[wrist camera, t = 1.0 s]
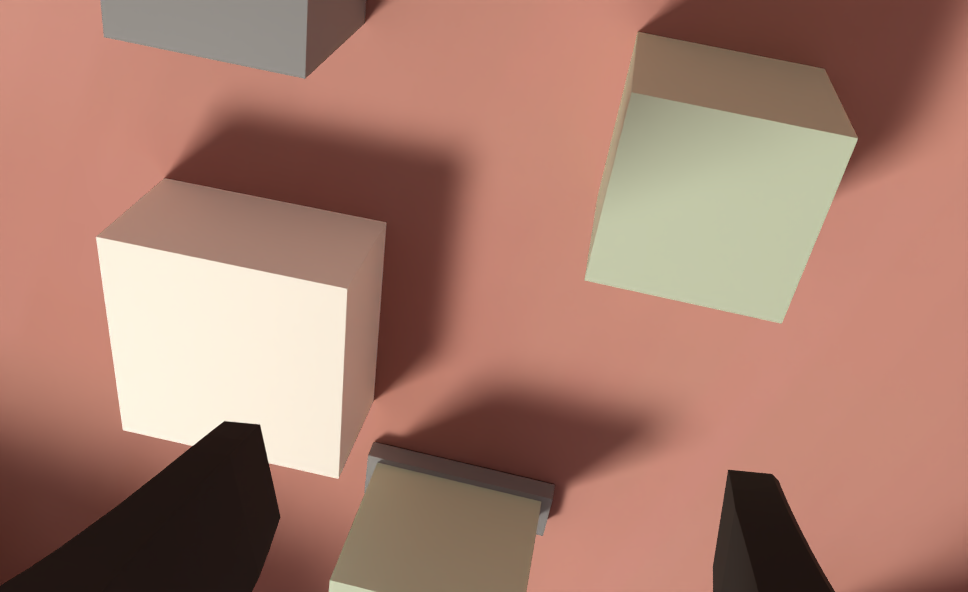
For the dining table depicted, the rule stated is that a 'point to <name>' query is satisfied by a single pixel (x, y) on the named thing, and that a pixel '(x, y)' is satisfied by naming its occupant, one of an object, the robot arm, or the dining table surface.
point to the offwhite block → (244, 320)
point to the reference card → (440, 527)
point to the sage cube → (717, 177)
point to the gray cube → (239, 29)
